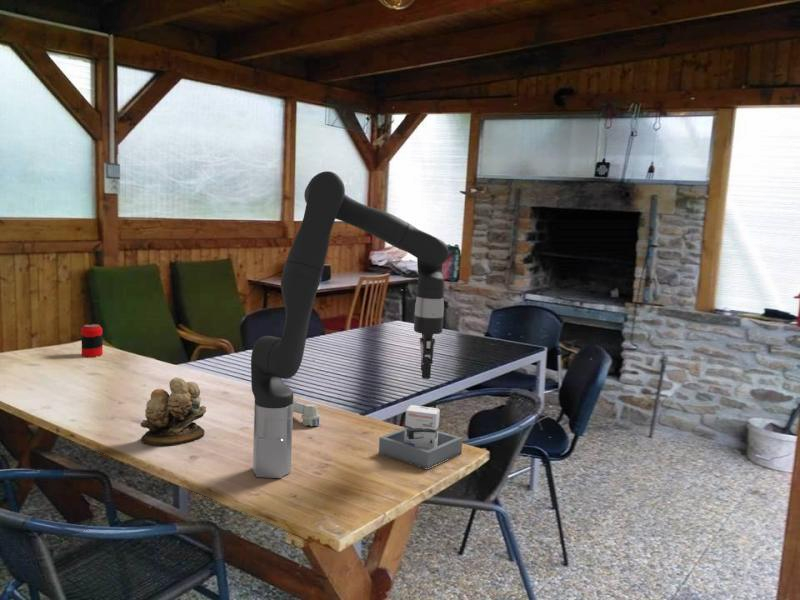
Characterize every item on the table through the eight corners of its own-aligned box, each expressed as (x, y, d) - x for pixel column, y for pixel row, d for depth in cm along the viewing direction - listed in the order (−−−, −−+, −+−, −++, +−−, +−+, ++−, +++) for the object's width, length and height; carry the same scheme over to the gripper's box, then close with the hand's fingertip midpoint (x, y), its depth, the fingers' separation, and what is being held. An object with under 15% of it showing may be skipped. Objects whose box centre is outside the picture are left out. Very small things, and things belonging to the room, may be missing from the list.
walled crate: (461, 453, 191) (462, 438, 190) (427, 469, 178) (428, 452, 177) (414, 439, 200) (415, 424, 200) (378, 453, 188) (379, 437, 187)
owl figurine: (195, 426, 202) (196, 368, 199) (215, 438, 193) (217, 377, 191) (133, 437, 190) (134, 376, 187) (151, 450, 181) (152, 386, 179)
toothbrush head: (281, 392, 226) (323, 401, 207) (281, 413, 227) (324, 424, 207) (266, 394, 223) (308, 404, 204) (267, 415, 223) (309, 427, 204)
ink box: (402, 452, 187) (405, 409, 186) (406, 446, 192) (409, 404, 190) (434, 456, 185) (436, 413, 184) (437, 450, 190) (440, 408, 188)
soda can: (99, 352, 282) (98, 323, 280) (105, 356, 276) (105, 326, 275) (79, 354, 277) (78, 324, 276) (85, 358, 272) (84, 327, 270)
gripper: (445, 319, 177) (441, 382, 179) (441, 310, 191) (437, 368, 193) (415, 317, 177) (411, 380, 179) (414, 309, 191) (410, 367, 193)
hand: (425, 374), depth 186 cm, fingers open, 8 cm apart
